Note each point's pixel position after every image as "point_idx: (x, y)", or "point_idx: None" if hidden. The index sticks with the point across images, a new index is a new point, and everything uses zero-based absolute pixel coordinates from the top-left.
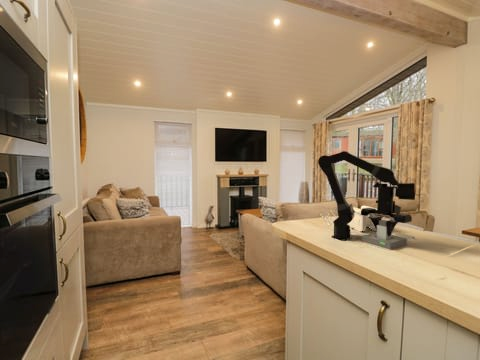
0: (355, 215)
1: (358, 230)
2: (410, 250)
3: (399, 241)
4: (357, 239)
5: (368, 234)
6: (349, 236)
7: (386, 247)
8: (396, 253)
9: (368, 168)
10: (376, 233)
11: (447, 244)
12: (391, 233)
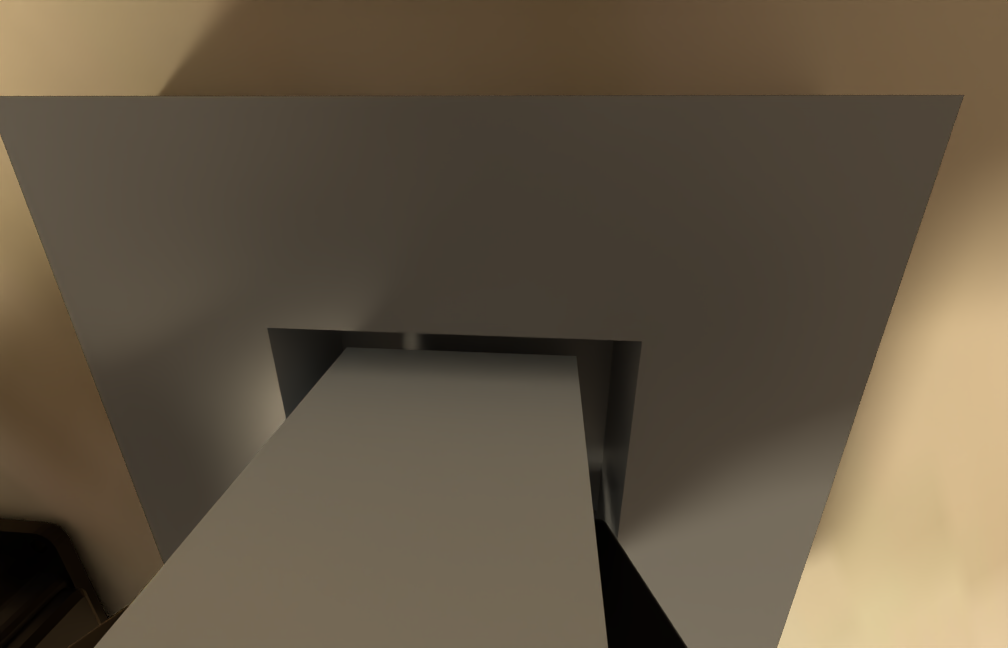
0: None
1: None
2: (967, 353)
3: (823, 461)
4: (120, 489)
5: (165, 544)
6: (69, 636)
7: None
8: (814, 620)
9: None
10: (139, 336)
11: None
12: (587, 467)
